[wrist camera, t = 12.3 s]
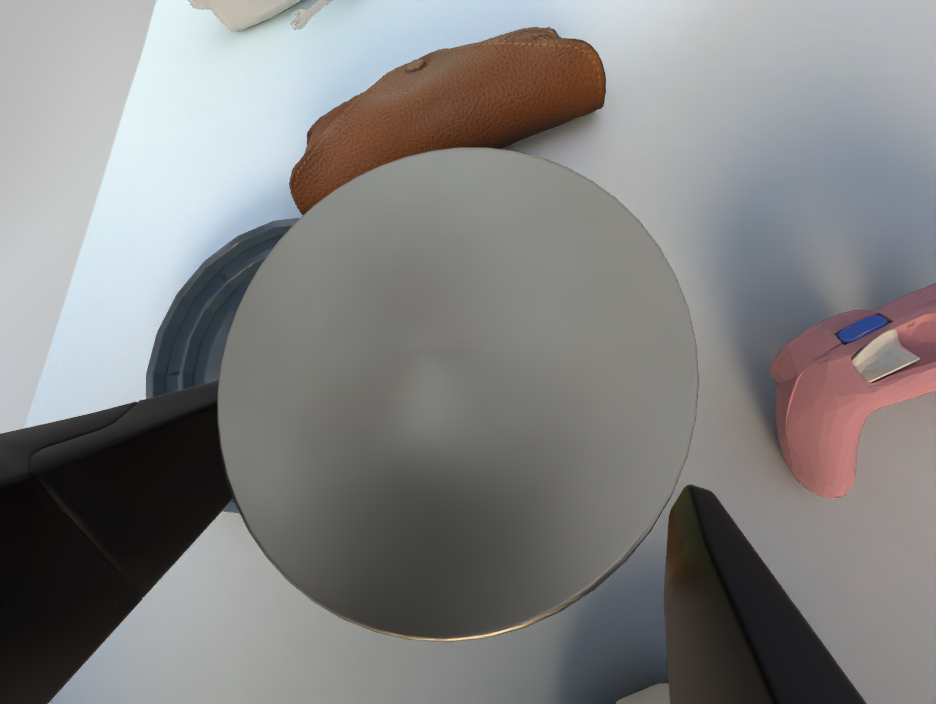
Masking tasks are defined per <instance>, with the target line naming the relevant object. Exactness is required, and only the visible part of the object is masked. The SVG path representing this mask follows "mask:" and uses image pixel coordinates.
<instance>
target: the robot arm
mask: <svg viewBox="0 0 936 704" xmlns="http://www.w3.org/2000/svg"><path fill="white" fill-rule="evenodd" d="M218 384H219V380H217V381H213V382H209V383H205V384H202V385H198V386H194V387H190V388H186V389H183V390H179V391H175V392H171V393H168V394H164V395H160V396H156V397H152V398H149V399H145V400H141V401H139V402H133V403H129V404H126V405H122V406H118V407H114V408H110V409H106V410H103V411H99V412H95V413H91V414H87V415H82V416H78V417H74V418H69V419H65V420H61V421H56V422H52V423H47V424H43V425H38V426H34V427H29V428H25V429H20V430H16V431H11V432H7V433H3V434H0V704H48V703H49V702H50V701H51V700H52V698H53V697H54V696H55V695H56V694H57V693H58V692H59V691H60V690H61V689H62V687H63V686H64V685H65V684H66V683H67V682H68V681H69V680H70V679H71V677H72V676H73V675H74V674H75V673H76V672H77V671H78V670H79V669H80V668H81V666H82V665H83V664H84V663H85V662H86V661H87V660H88V659H89V658H90V656H91V655H92V654H93V653H94V652H95V651H96V650H97V649H98V648H99V647H100V645H101V644H102V643H103V642H104V641H105V640H106V639H107V638H108V637H109V635H110V634H111V633H112V632H113V631H114V630H115V629H116V628H117V627H118V626H119V624H120V623H121V622H122V621H123V620H124V619H125V618H126V617H127V616H128V614H129V613H130V612H131V611H132V610H133V609H134V608H135V607H136V606H137V605H138V603H139V602H140V601H141V600H142V597H144V596H145V595H146V594H147V593H148V592H149V591H150V590H151V589H152V588H153V586H154V585H155V584H156V583H157V582H158V581H159V580H160V579H161V578H162V577H163V575H164V574H165V573H166V572H167V571H168V570H169V569H170V568H171V567H172V565H173V564H174V563H175V562H176V561H177V560H178V559H179V558H180V557H181V556H182V554H183V553H184V552H185V551H186V550H187V549H188V548H189V547H190V546H191V545H192V543H193V542H194V541H195V540H196V539H197V538H198V537H199V536H200V535H201V533H202V532H203V531H204V530H205V529H206V528H207V527H208V526H209V525H210V524H211V522H212V521H213V520H214V519H215V518H216V517H217V516H218V515H219V514H220V512H221V511H222V510H223V509H224V508H225V507H226V506H227V505H228V504H229V503H230V501H231V500H232V499H233V496H232V493H231V490H230V487H229V484H228V481H227V479H226V475H225V471H224V466H223V461H222V457H221V452H220V447H219V436H218V425H217V393H218ZM664 608H665V627H666V645H667V663H668V681H669V699H670V704H866V702H865V701H864V699H863V698H862V697H861V695H860V694H859V693H858V691H857V690H856V688H855V687H854V686H853V684H852V683H851V682H850V680H849V679H848V677H847V676H846V675H845V673H844V672H843V671H842V669H841V668H840V667H839V665H838V664H837V662H836V661H835V660H834V658H833V657H832V656H831V654H830V653H829V651H828V650H827V649H826V647H825V646H824V645H823V643H822V642H821V640H820V639H819V638H818V636H817V635H816V634H815V632H814V631H813V629H812V628H811V627H810V625H809V624H808V623H807V621H806V620H805V618H804V617H803V616H802V614H801V613H800V612H799V610H798V609H797V607H796V606H795V605H794V603H793V602H792V601H791V599H790V598H789V596H788V595H787V594H786V592H785V591H784V590H783V588H782V587H781V585H780V584H779V583H778V581H777V580H776V579H775V577H774V576H773V574H772V573H771V572H770V570H769V569H768V568H767V566H766V565H765V563H764V562H763V561H762V559H761V558H760V557H759V555H758V554H757V552H756V551H755V550H754V548H753V547H752V546H751V544H750V543H749V541H748V540H747V539H746V537H745V536H744V535H743V533H742V532H741V530H740V529H739V528H738V526H737V525H736V524H735V522H734V521H733V519H732V518H731V517H730V515H729V514H728V513H727V511H726V510H725V508H724V507H723V506H722V504H721V503H720V502H719V500H718V499H717V497H716V496H715V495H714V494H713V493H712V492H711V491H709V490H707V489H704V488H701V487H698V486H694V485H687V486H686V487H685V488H684V489H683V491H682V492H681V494H680V496H679V497H678V499H677V500H676V502H675V504H674V505H673V507H672V509H671V511H670V515H669V523H668V539H667V554H666V570H665V587H664Z"/></svg>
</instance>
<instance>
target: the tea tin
mask: <svg viewBox="0 0 936 704" xmlns="http://www.w3.org/2000/svg"><path fill="white" fill-rule="evenodd" d="M698 385H699V376H698V362H697V348H696V341H695V336H694V332H693V327H692V323H691V318H690V314H689V310H688V307H687V304H686V301H685V299H684V296H683V294H682V291H681V288H680V286H679V283H678V281H677V278H676V276H675V274H674V272H673V270H672V268H671V267H670V265H669V263H668V261H667V259H666V258H665V256H664V254H663V252H662V251H661V249H660V247H659V246H658V244H657V243H656V242H655V240H654V239H653V238H652V236H651V235H650V234H649V233H648V231H647V230H646V229H645V227H644V226H643V225H642V224H641V222H640V221H639V220H638V219H637V218H636V217H635V216H634V215H633V214H632V213H631V212H630V211H629V210H628V209H627V208H626V207H625V206H624V205H622V204H621V203H620V202H619V201H618V200H617V199H616V198H615V197H613V196H612V195H611V194H609V193H608V192H607V191H605V190H604V189H602V188H601V187H600V186H598V185H597V184H596V183H594V182H593V181H591V180H589V179H587V178H585V177H584V176H582V175H580V174H578V173H576V172H574V171H573V170H571V169H569V168H567V167H564V166H562V165H559V164H557V163H554V162H551V161H549V160H546V159H543V158H541V157H537V156H533V155H529V154H525V153H520V152H516V151H511V150H503V149H494V148H451V149H443V150H434V151H429V152H424V153H420V154H416V155H411V156H407V157H404V158H401V159H398V160H395V161H392V162H390V163H387V164H384V165H381V166H379V167H377V168H375V169H373V170H370V171H368V172H366V173H364V174H362V175H360V176H358V177H356V178H354V179H353V180H351V181H349V182H348V183H346V184H344V185H343V186H341V187H339V188H338V189H336V190H335V191H333V192H332V193H330V194H329V195H328V196H326V197H325V198H324V199H322V200H321V201H320V202H318V203H317V204H316V205H314V206H313V207H312V208H311V209H310V210H309V211H308V212H307V213H306V214H304V215H303V216H302V217H301V218H300V219H299V220H298V221H297V222H296V223H295V224H294V225H293V226H292V227H291V228H290V229H289V230H288V231H287V233H286V234H285V235H284V236H283V237H282V238H281V239H280V240H279V241H278V242H277V244H276V245H275V247H274V248H273V249H272V251H271V252H270V253H269V255H268V256H267V257H266V259H265V260H264V261H263V263H262V264H261V266H260V267H259V269H258V271H257V273H256V274H255V276H254V278H253V279H252V281H251V283H250V284H249V286H248V288H247V290H246V292H245V294H244V296H243V298H242V301H241V303H240V305H239V307H238V309H237V311H236V314H235V317H234V320H233V323H232V325H231V328H230V331H229V334H228V337H227V341H226V345H225V349H224V354H223V358H222V362H221V368H220V376H219V384H218V393H217V425H218V436H219V447H220V452H221V457H222V461H223V466H224V471H225V475H226V479H227V481H228V484H229V487H230V490H231V493H232V496H233V499H234V502H235V504H236V507H237V509H238V511H239V513H240V515H241V517H242V519H243V521H244V523H245V525H246V527H247V529H248V530H249V532H250V534H251V535H252V537H253V538H254V540H255V541H256V543H257V544H258V546H259V547H260V548H261V550H262V551H263V553H264V554H265V556H266V557H267V558H268V560H269V561H270V562H271V563H272V564H273V565H274V566H275V567H276V568H277V569H278V570H279V572H280V573H281V574H282V575H283V576H284V577H285V578H286V579H287V580H288V581H289V582H290V583H291V584H292V585H294V586H295V587H296V588H297V589H298V590H300V591H301V592H302V593H303V594H305V595H306V596H307V597H308V598H310V599H311V600H312V601H313V602H315V603H316V604H318V605H320V606H321V607H323V608H325V609H327V610H328V611H330V612H332V613H333V614H335V615H337V616H338V617H340V618H342V619H344V620H346V621H349V622H351V623H354V624H357V625H359V626H362V627H364V628H367V629H369V630H372V631H374V632H378V633H382V634H387V635H391V636H396V637H400V638H405V639H409V640H424V641H441V642H451V641H461V640H471V639H481V638H488V637H492V636H496V635H499V634H503V633H507V632H511V631H514V630H518V629H522V628H525V627H527V626H530V625H532V624H534V623H536V622H539V621H541V620H543V619H545V618H548V617H550V616H552V615H554V614H556V613H559V612H561V611H563V610H564V609H566V608H567V607H569V606H570V605H572V604H573V603H575V602H576V601H578V600H579V599H581V598H582V597H584V596H586V595H587V594H589V593H590V592H592V591H593V590H595V589H596V588H597V587H598V586H599V585H600V584H601V583H603V582H604V581H605V580H606V579H607V578H608V577H609V576H610V575H611V574H613V573H614V572H615V571H616V570H617V569H618V568H619V567H620V566H621V565H623V564H624V563H625V562H626V561H627V559H628V558H629V557H630V556H631V554H632V553H633V552H634V551H635V550H636V548H637V547H638V546H639V545H640V543H641V542H642V541H643V540H644V538H645V537H646V536H647V535H648V534H649V532H650V531H651V530H652V528H653V526H654V525H655V523H656V521H657V520H658V518H659V516H660V515H661V513H662V511H663V509H664V508H665V506H666V504H667V503H668V501H669V499H670V497H671V496H672V494H673V491H674V489H675V486H676V484H677V481H678V479H679V476H680V474H681V471H682V469H683V466H684V464H685V461H686V459H687V455H688V451H689V447H690V442H691V438H692V434H693V429H694V425H695V421H696V411H697V398H698Z"/></svg>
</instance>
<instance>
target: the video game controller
mask: <svg viewBox="0 0 936 704" xmlns="http://www.w3.org/2000/svg"><path fill="white" fill-rule="evenodd" d="M770 374H771V375H772V376H773V378H774V379H775V381H776V382H777V387H776V424H777V431H778V438H779V444H780V447H781V451H782V454H783V456H784V458H785V460H786V462H787V464H788V467H789V469H790V471H791V472H792V474H793V475H794V477H795V478H796V479H797V481H798V482H799V483H801V484H802V485H803V486H804V487H806V488H807V489H808V490H810V491H812V492H814V493H815V494H817V495H819V496H821V497H826V498H839V497H842V496H845V494H846V493H847V492H848V490H849V489H850V488H851V486H852V485H853V483H854V478H855V473H856V461H857V447H858V441H859V436H860V432H861V429H862V427H863V425H864V422H865V420H866V417H867V416H869V415H870V414H871V413H872V412H873V411H875V410H877V409H880V408H882V407H885V406H888V405H891V404H894V403H898V402H901V401H904V400H907V399H911V398H914V397H917V396H921V395H923V394H926V393H929V392H932V391H935V390H936V283H935V284H932V285H929V286H927V287H925V288H922V289H920V290H918V291H915V292H913V293H911V294H908V295H906V296H903V297H901V298H899V299H897V300H895V301H893V302H891V303H889V304H886V305H884V306H882V307H880V308H878V309H876V310H874V311H869V310H854V311H849V312H845V313H841V314H838V315H836V316H833V317H831V318H828V319H826V320H824V321H822V322H820V323H818V324H816V325H815V326H813V327H811V328H809V329H807V330H806V331H804V332H803V333H802V334H800V335H799V336H798V337H796V338H795V339H793V340H792V341H791V342H790V343H788V344H787V345H786V346H785V347H784V348H783V349H782V350H781V351H780V352H779V354H778V355H777V356H776V358H775V360H774V361H773V363H772V366H771V369H770Z"/></svg>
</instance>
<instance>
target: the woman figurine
mask: <svg viewBox="0 0 936 704" xmlns="http://www.w3.org/2000/svg"><path fill="white" fill-rule="evenodd" d="M188 1H189V2H190V3H191V4H190V5H191V6H192V7H193V8H195V9H201V10H204V9H207V10H212V11H213V13H214V15H215V16H216V17H217V18H218V19H219V20H220V21H221V22H222V23H223V24H224V25H225V26H226V27H227V28H228V29H229V30H230V31H242V30H244V29H247V28H249V27H251V26H254V25H256V24H258V23H261V22H263V21H265V20H267V19H270V18H272V17H274V16H275V15H277V14H279V13H280V12H282V11H284V10H286V9H287V8H289V7H291V6H293V5H294V4H296V3H298V2H300V1H301V0H188ZM331 1H333V0H317V1H316V2H315V3H314V4H313V5H312V6H311V7H310V8H309V9H308V10H302V9H298V10H296V11H293V12H291V13H292V14H296V13H297V14H298V16H297V18H296V19H295V20H294V21H292V22H291V25H292V24H295V23H296V24H295V25H294V26H293V27H292V28H293V29H294V30H296V29H302V28H303V27H304V26H305V25H306V24H307V22H308V21H309V20H310V19H311V17H313V16H314V15H315V14H316V13H317V12H318V11H320V10H321V9H322V8H323V7H324V6H325V5H328V4H329V3H330V2H331Z"/></svg>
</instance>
